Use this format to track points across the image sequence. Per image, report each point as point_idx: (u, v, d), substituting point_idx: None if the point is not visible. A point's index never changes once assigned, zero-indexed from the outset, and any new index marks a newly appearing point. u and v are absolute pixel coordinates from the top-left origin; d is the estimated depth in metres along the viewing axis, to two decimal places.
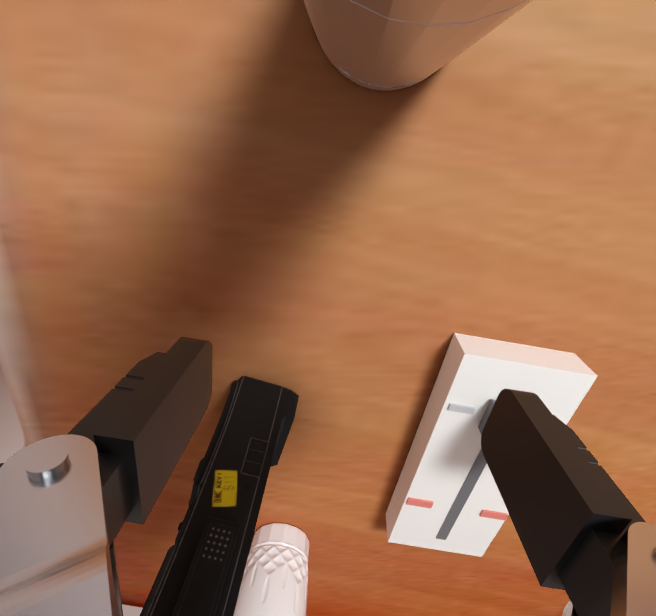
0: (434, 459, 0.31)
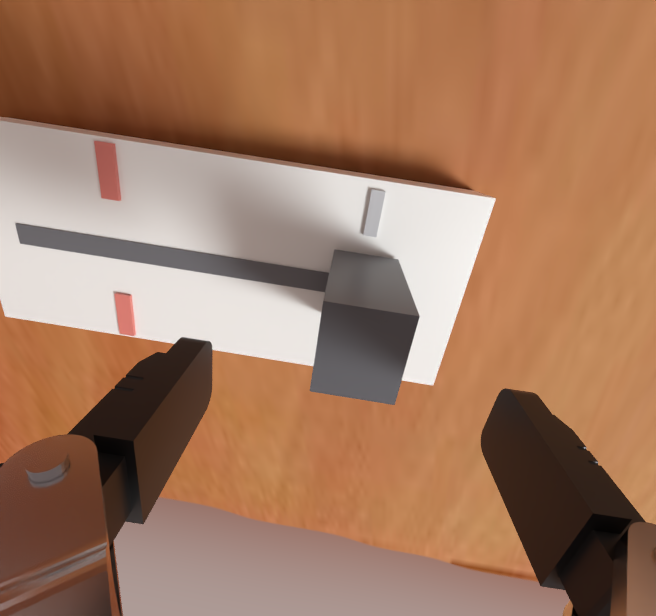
0: (238, 184, 0.15)
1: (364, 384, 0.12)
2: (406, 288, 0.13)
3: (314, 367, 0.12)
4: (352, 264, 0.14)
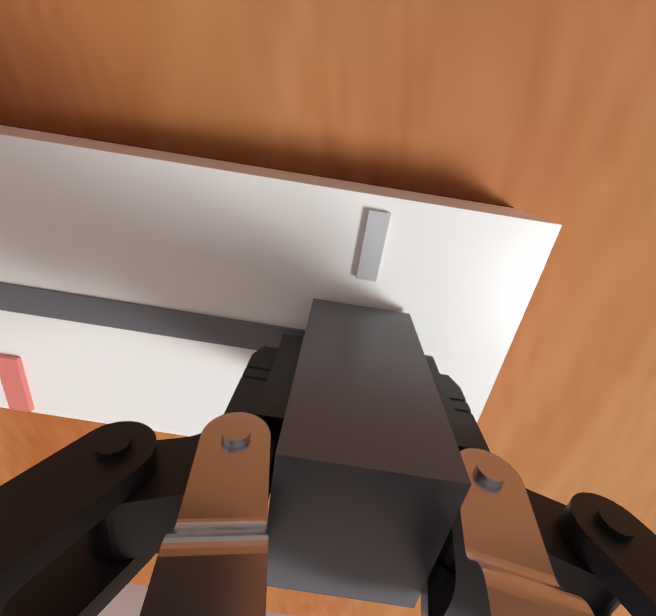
0: (162, 200, 0.10)
1: (359, 579, 0.06)
2: (431, 389, 0.07)
3: None
4: (339, 330, 0.09)
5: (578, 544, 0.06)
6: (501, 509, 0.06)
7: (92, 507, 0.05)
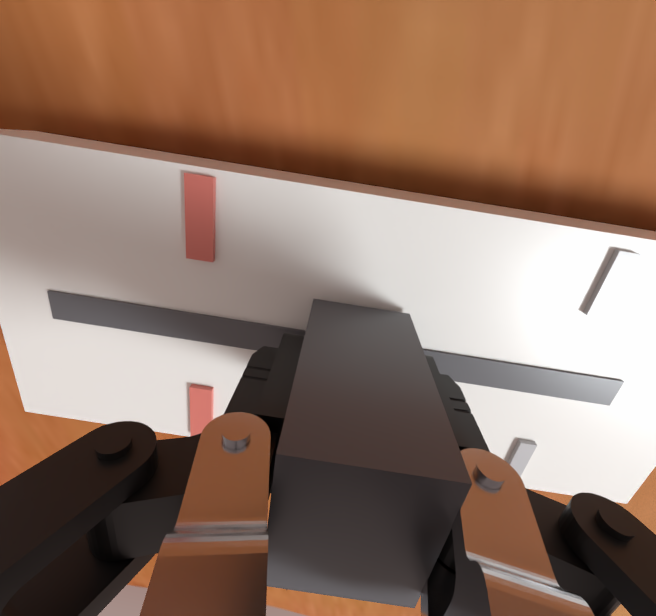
0: (404, 240, 0.10)
1: (360, 579, 0.06)
2: (432, 388, 0.07)
3: None
4: (340, 330, 0.09)
5: (578, 544, 0.06)
6: (501, 509, 0.06)
7: (93, 508, 0.05)
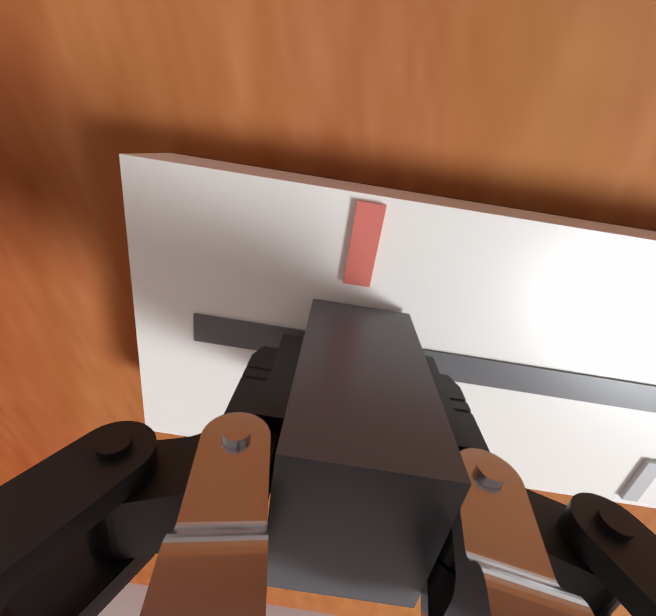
0: (566, 266, 0.10)
1: (359, 579, 0.06)
2: (431, 388, 0.07)
3: None
4: (339, 330, 0.09)
5: (578, 544, 0.06)
6: (501, 509, 0.06)
7: (93, 508, 0.05)
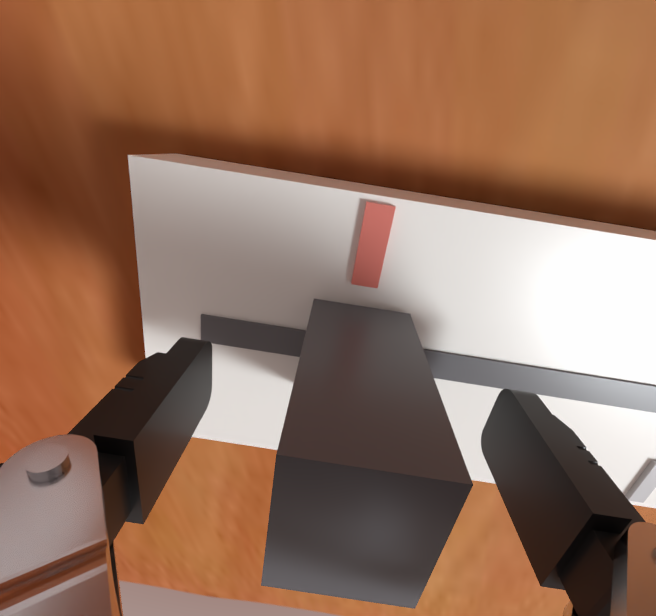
0: (575, 267, 0.10)
1: (360, 580, 0.06)
2: (432, 388, 0.07)
3: (267, 554, 0.06)
4: (340, 330, 0.09)
5: None
6: None
7: None
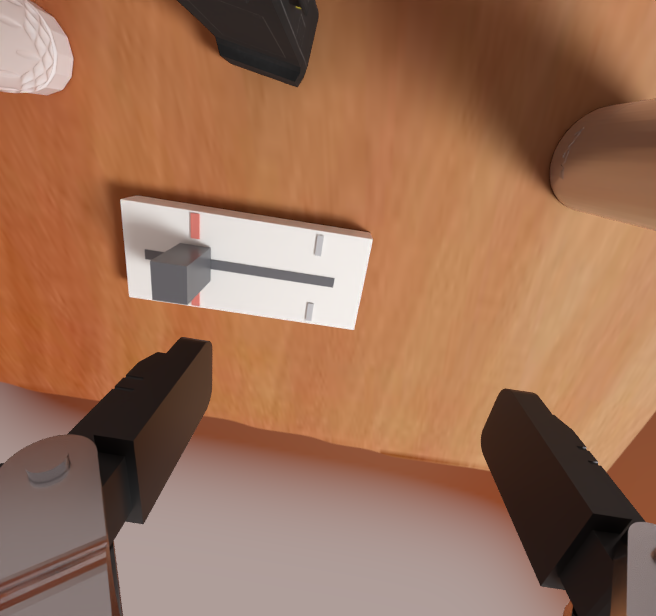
0: (256, 232, 0.33)
1: (173, 296, 0.30)
2: (195, 258, 0.31)
3: (152, 288, 0.29)
4: (181, 249, 0.32)
5: None
6: None
7: None
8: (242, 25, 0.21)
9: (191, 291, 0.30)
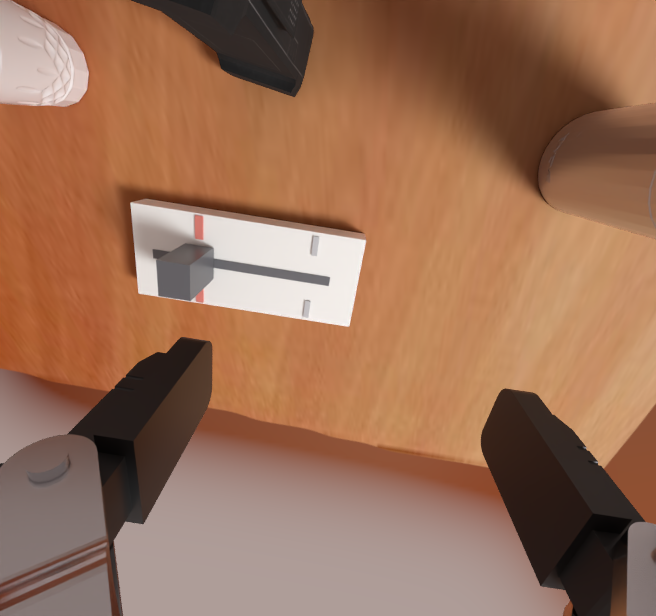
0: (256, 233, 0.35)
1: (177, 292, 0.32)
2: (198, 257, 0.33)
3: (158, 285, 0.32)
4: (186, 249, 0.35)
5: None
6: None
7: None
8: (238, 45, 0.23)
9: (194, 288, 0.33)
